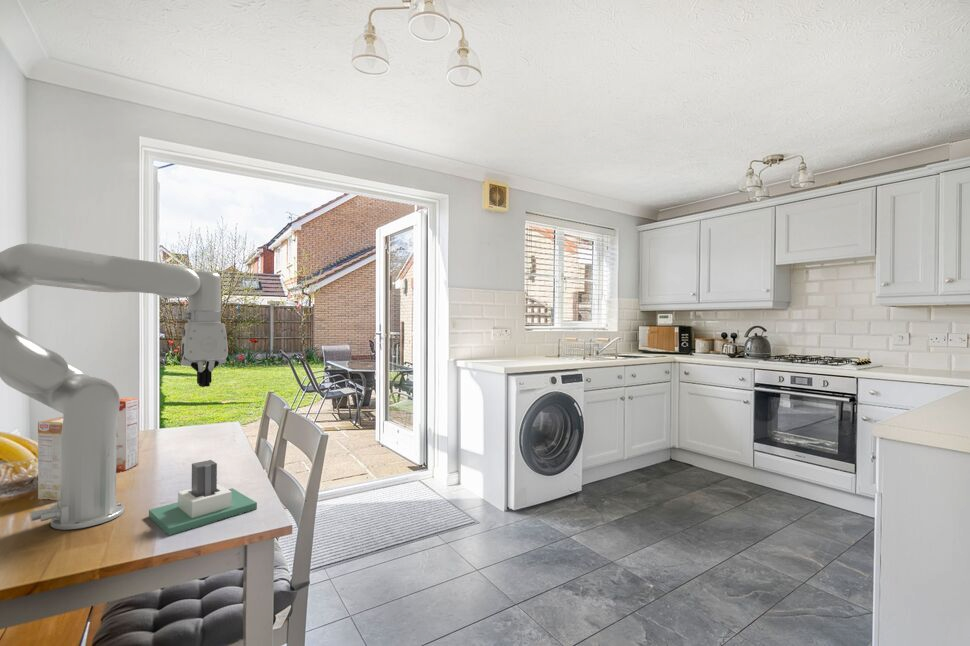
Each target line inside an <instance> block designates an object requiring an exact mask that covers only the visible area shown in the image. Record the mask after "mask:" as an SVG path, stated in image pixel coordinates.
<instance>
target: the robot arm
mask: <svg viewBox="0 0 970 646" xmlns="http://www.w3.org/2000/svg"><path fill="white" fill-rule="evenodd" d="M221 277H222V276H221V275H220V274H219V273H217V272H214V271H204V270H203V271H199V270H197V271H194V270H193V269H191V268H189V267H186V266H181V265H176V264H175V265H174V264H170V263H163V262H157V261H149V260H143V259H134V258H128V257H122V256H114V255H110V254H109V255H108V254H101V253H94V252H89V251H82V250H77V249H76V250H75V249H69V248H63V247H58V246H52V245H45V244H40V243H38V244H37V243H31V242H28V243H20V244H16V245H14V246H13V245H12V246H10V247H8V248H5V249H4V250H2V251H0V303H1V302H3V301H6V300H8V299H9V298H11V297H13V296H15V295H17V294H19V293H21V292H22V291H25V290H27V289H28V288H30V287H32V286H33V285H34V286H35V285H37V286H45V287H52V288H53V287H54V288H65V289H73V290H83V291H92V292H98V293H140V294H141V293H143V294H152V295H153V294H154V295H155V294H156V295H157V296H159V297H162V298H165V299H176V298H178V299H179V298H187V299H188V301H187V311H186V312H185V313H182V314H181V319H184V320H186V321H187V322H185V323H184V328H183V332H182V338H181V344H180V346H181V347H180V348H181V349H180V356H181V361H180V365H182V366H186V367H191V368H192V369H193V370H195V372H196V384H197V385H198V386H199V387H201V388H206V387H210V386H211V385H210V384H211V383H212V372H213V371H214V369H215V368H216V367H217V366H219V365H222V364H225V363H227V357H228V356H229V355H228V354H229V353H228V352H229V348H228V346H229V344H228V336H227V331H226V325H225V323H224V322H222V317H221V316H222V278H221ZM203 361H205V366H204V362H203ZM0 379H1V381H2V382H4V384H6V385H7V386H8V387H11V388H12V389H14V390H16V391H17V392H19V393H22V394H24V395H25V396H27V397H30V398H31V399H33V400H36V401H38V402H39V403H41V404H43V405H44V406H47V407H49V408H51V409H53V410H54V411H56V412H59V413H61V414H62V417H63V425H62V431H61V500H56V504H54V505H51V506H50V507H49V508H45V509H39V510H33V511H31V512H30V522H33V521H38V520H40V522H44V521H49V520H50V526H51V527H52V528H53V529H55V530H63V531H65V530H79V529H85V528H89V527H93V526H96V525H100V524H104V523H106V522H109V521H112V520H114V519H116V518H118V517H119V516H121V515H122V514H123V513H124V512H125V505H124V503H122V502H118V501H117V471H116V429H117V419H118V413H119V407H120V398H121V397H120V394H119V391H118V390H117V388H116V387H115V386H114V384H112V383H111V382H109V381H107V380H105V379H103V378H100V377H94V376H90V375H89V374H87V373H84V372H83V371H81V370H79V369H77V368H76V367H74V366H73V365H71V364H69V363H67V361H66V360H65V358H64V357H63V356H61V355H60V354H59V353H58V352H55V351H53V350H50V349H49V348H46V347H44V346H43V345H41V344H39V343H37V342H35V341H34V340H32V339H31V338H29V337H27V336H25V335H24V334H22V333H20V332H19V331H18V330H16V329H14V328H13V327H12V326H10V325H8V324H7V323H6V322H5V321H4V320H3V319H2V317H0Z"/></svg>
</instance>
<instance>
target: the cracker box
mask: <svg viewBox="0 0 970 646" xmlns="http://www.w3.org/2000/svg"><path fill="white" fill-rule="evenodd" d="M119 398H120V407H119V413H118V419H117V429H116V472H125V471H128V470H131V469H132V468H134V467H137V466H138V465H139V431H140V430H139V427H140V426H139V419H140V417H139V416H140V415H139V414H140V413H139V411H140V410H139V409H140V408H139V403H140V402H139V401H140V400H139V398H138V397H119Z"/></svg>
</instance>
